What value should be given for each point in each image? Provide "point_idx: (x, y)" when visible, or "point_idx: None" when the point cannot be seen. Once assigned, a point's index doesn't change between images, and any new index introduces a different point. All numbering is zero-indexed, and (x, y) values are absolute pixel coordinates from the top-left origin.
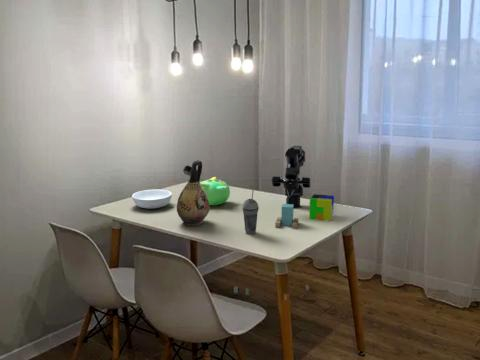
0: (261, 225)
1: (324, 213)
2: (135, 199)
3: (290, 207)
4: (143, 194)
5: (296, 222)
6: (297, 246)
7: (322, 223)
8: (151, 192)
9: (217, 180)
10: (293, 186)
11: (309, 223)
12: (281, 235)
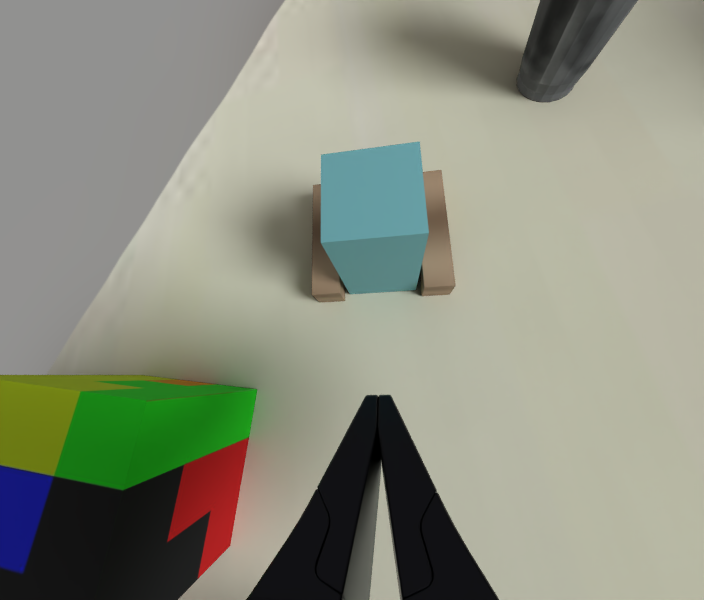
0: (530, 200)
1: (133, 380)
2: None
3: (338, 153)
4: None
5: (317, 210)
6: (300, 21)
7: (187, 319)
8: None
9: None
10: (285, 585)
11: (257, 302)
12: (380, 98)
